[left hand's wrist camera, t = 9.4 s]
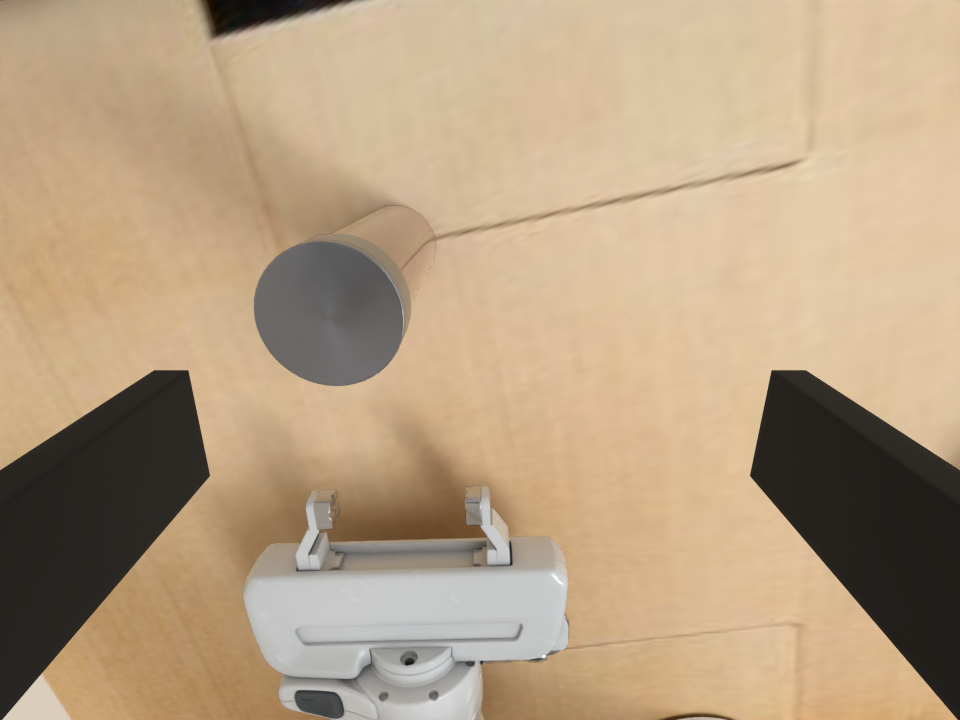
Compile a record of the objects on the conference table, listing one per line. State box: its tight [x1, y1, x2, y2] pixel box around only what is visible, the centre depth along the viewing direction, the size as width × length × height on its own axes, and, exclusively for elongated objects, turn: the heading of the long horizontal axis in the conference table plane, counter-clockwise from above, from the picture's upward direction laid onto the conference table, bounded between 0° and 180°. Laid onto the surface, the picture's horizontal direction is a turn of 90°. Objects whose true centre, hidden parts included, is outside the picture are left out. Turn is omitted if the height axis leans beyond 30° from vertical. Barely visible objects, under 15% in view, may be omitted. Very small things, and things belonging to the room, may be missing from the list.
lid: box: [254, 234, 411, 386], centre depth 20 cm, size 5×5×2 cm
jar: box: [333, 205, 436, 306], centre depth 26 cm, size 5×5×15 cm
